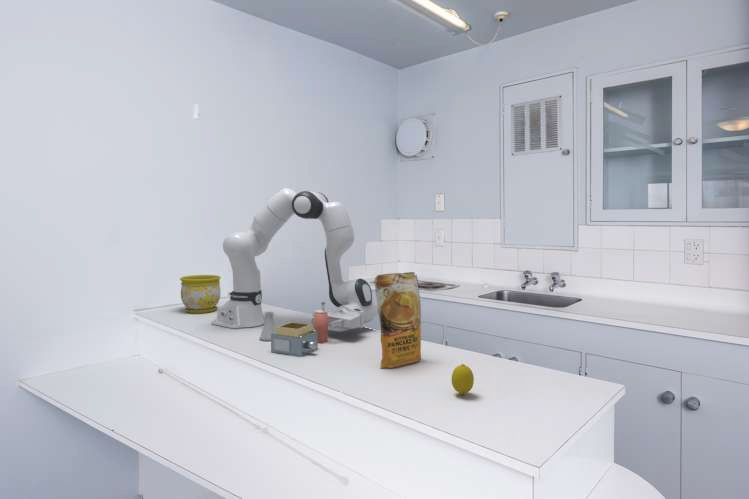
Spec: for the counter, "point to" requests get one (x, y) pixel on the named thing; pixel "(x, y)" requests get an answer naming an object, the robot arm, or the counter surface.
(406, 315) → the pancake mix bag
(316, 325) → the spout can
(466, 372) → the lemon
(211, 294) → the flowerpot
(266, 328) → the flask
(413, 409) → the counter surface
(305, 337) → the box
